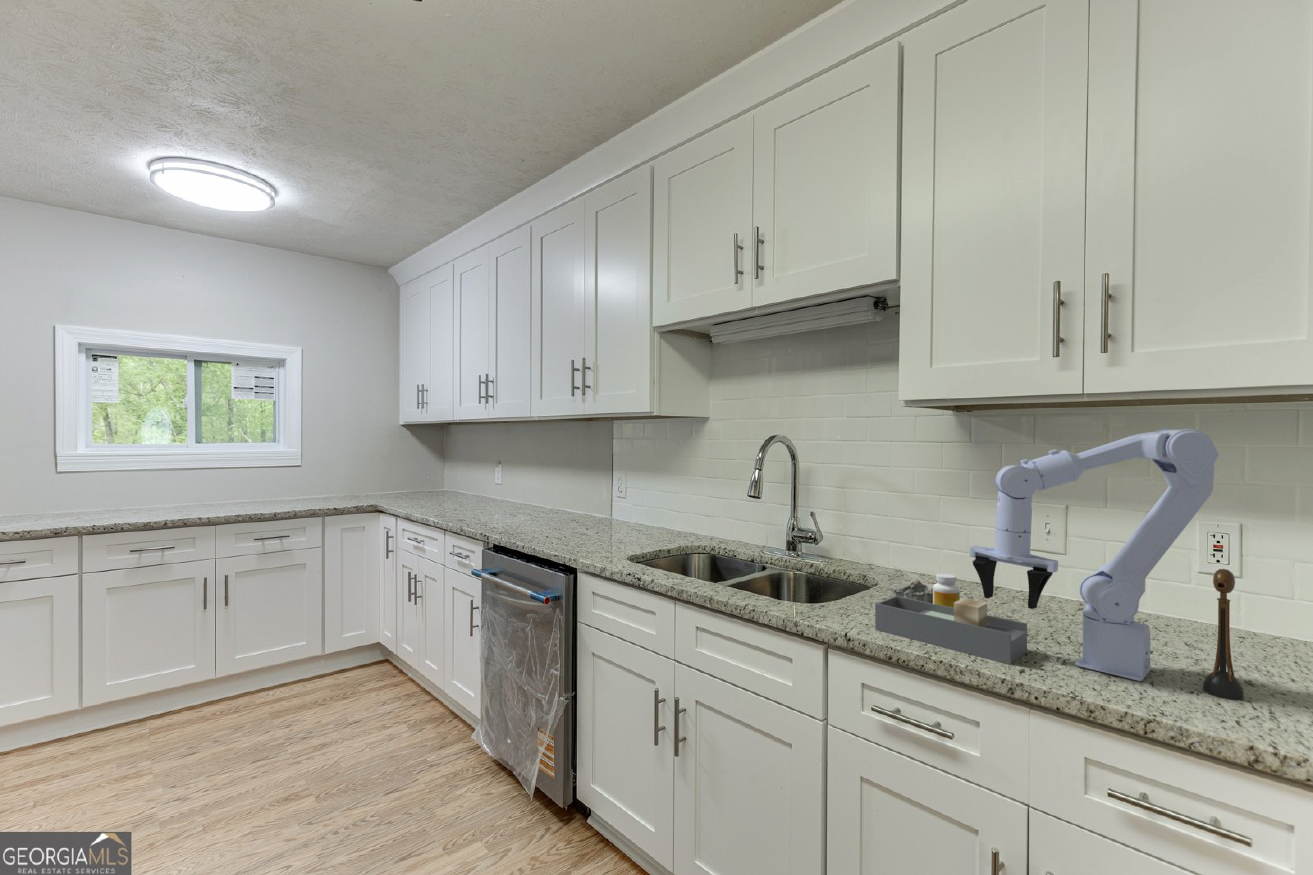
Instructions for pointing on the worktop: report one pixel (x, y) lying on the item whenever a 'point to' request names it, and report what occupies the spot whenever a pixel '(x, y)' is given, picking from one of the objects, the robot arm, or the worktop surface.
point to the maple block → (971, 612)
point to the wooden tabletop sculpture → (1223, 644)
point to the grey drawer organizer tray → (951, 629)
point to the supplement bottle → (945, 590)
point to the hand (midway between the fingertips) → (1009, 602)
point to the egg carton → (915, 592)
